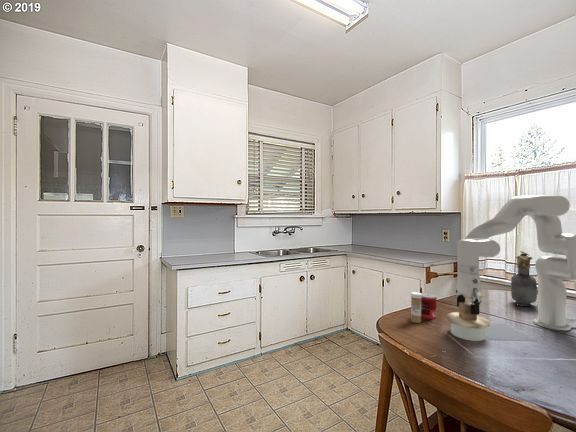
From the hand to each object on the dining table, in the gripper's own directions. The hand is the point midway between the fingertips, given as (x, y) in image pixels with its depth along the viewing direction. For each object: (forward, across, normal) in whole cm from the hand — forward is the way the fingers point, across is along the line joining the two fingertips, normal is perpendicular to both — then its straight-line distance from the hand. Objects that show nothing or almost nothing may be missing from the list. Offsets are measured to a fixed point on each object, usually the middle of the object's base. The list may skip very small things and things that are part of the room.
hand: (467, 310), depth 119 cm
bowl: (+11, 0, 0) cm, 11 cm away
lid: (+5, 0, 0) cm, 5 cm away
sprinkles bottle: (+11, +15, +15) cm, 24 cm away
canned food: (+11, +21, +7) cm, 25 cm away
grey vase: (+11, +44, -56) cm, 72 cm away
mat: (+11, +4, -15) cm, 19 cm away
